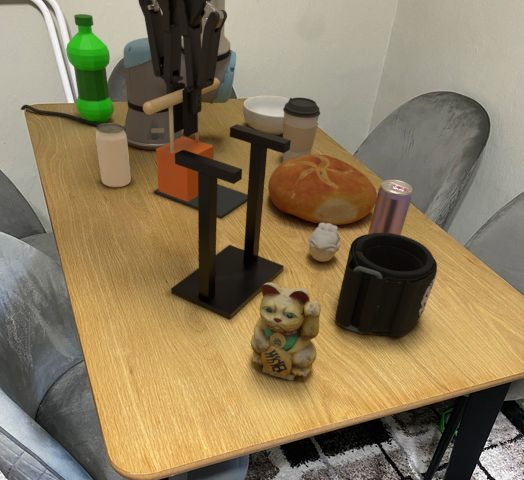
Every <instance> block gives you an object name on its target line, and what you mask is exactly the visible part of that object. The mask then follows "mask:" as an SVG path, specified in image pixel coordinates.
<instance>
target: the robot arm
mask: <svg viewBox="0 0 524 480" xmlns="http://www.w3.org/2000/svg"><path fill="white" fill-rule="evenodd" d="M138 6H139V8H140V9H141V12H142V15H143V18H144V22H145V29H146V34H147V37H142V38H137V39H133V40H131V41H129V42H127V43H126V44H125V45H124V48H123V64H122V65H123V68H124V78H125V88H126V99H127V100H126V101H127V112H126V116H125V122H124V125H122V126H123V127H124V131H125V133H126V136H127V144H128V146H130V147H132V148H135V149H138V150H145V151H156V149H157V148H159V147H161V146H164V145H166V144H168V143H170V127H169V107H168V108H166V109H163V110H161V111H158V112H156V113H153V114H150V115H149V114H146V113H145V112H144V111H143V105H144V103H146V102H148V101H151V100H154V99H156V98H159V97H162V96H164V95H167V94H170V93H173V92H175V91H178V90H181V89H184V90H182V94H183V102H181V103H178V104H176V105H173V125H174V140H176V139H179V138H181V137H183V136H184V137H187V138H189V137H190V136H192V135H195V133H197V132H198V113H199V114H200V112H202V110H203V109H202V107H203V106H202V103H208V104H211V105H212V104H225V103H228V102H229V100H230V98H231V95H232V89H233V84H234V78H235V70H236V62H237V53H236V51H234V50H233V49H231V42H230V39H228V38H227V36H225V23H226V21H227V18H228V13H227V11H226V0H138ZM214 78H217V79H218V80H219V82H220V85H219V87H218V88H217V89H214V90H211V91H209V92H206V93H204V94H202V89H204V88H206V87H209V86H212V85H213V84H214ZM26 109H28V110H30V111H31V112H33V113H36V114H41V115H46V116H47V115H49V116H58V117H64V118H68V119H72V120H74V121H77V122H81V123H85V124H88V125H90V126H91V125H92V126H94V127H97V126H98V125H101V123H97V122H91V121H88V120H85V119H83V118H82V117H79V116H76V115H73V114H70V113H65V112H59V111H52V110H51V111H50V110H42V109H37V108H35V107H33V106H32V105H29V104H24V105H22V106H21V107H20V111H25V110H26ZM182 130H183V131H182Z"/></svg>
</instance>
